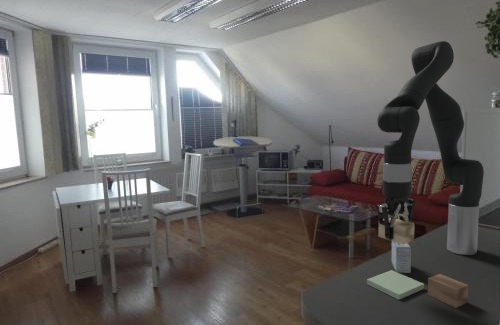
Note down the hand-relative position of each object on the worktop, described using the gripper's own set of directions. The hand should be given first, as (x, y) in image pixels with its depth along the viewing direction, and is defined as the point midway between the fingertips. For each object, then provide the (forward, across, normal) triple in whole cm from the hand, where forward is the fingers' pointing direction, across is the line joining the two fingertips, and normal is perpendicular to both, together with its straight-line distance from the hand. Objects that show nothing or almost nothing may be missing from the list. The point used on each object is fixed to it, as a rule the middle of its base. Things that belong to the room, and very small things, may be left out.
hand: (395, 236), depth 101 cm
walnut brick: (+15, -6, +12) cm, 20 cm away
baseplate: (+15, 0, 0) cm, 15 cm away
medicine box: (+15, -12, -7) cm, 21 cm away
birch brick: (+1, 0, 0) cm, 1 cm away
